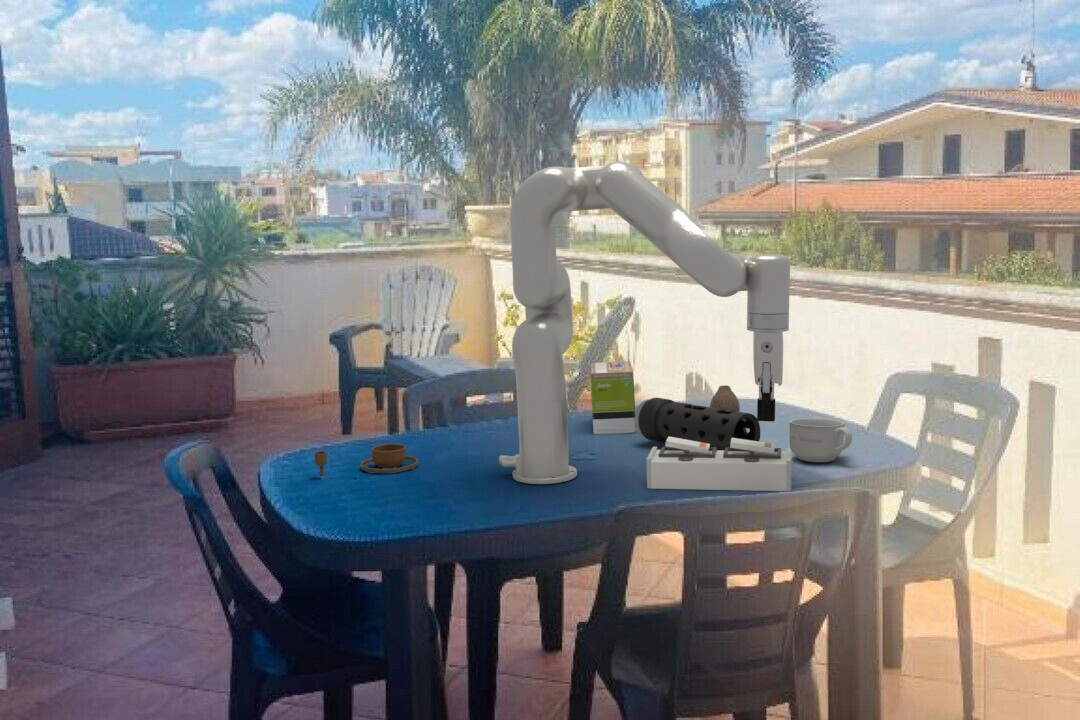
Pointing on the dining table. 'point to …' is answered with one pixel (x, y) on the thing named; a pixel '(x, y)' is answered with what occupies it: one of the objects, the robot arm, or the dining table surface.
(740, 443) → the outlet rocker
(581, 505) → the dining table surface
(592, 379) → the tea box
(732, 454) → the white switch block
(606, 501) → the dining table surface
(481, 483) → the dining table surface
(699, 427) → the muzzle brake
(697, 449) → the outlet rocker
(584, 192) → the robot arm
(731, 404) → the vase
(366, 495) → the dining table surface
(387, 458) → the place setting
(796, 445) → the teacup
